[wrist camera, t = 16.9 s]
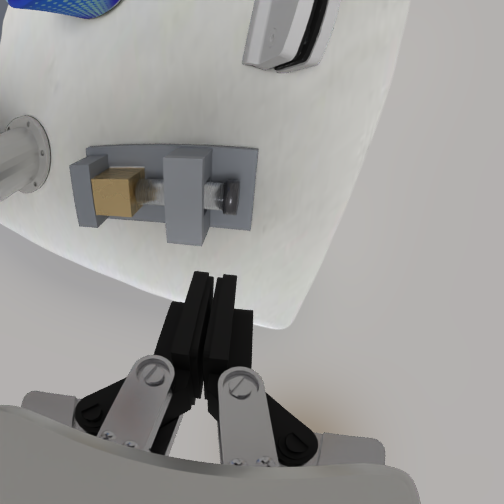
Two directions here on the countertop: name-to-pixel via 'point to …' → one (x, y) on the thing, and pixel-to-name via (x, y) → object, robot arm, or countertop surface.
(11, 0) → the beer can
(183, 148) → the grey u-shaped stand
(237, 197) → the shaft
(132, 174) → the block
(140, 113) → the countertop surface
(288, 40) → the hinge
